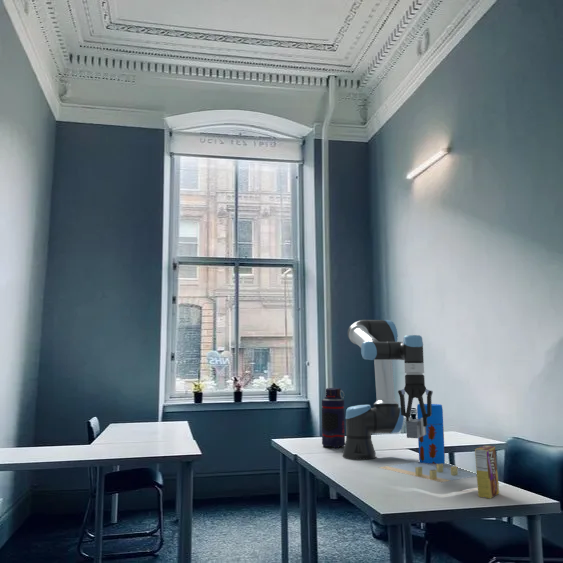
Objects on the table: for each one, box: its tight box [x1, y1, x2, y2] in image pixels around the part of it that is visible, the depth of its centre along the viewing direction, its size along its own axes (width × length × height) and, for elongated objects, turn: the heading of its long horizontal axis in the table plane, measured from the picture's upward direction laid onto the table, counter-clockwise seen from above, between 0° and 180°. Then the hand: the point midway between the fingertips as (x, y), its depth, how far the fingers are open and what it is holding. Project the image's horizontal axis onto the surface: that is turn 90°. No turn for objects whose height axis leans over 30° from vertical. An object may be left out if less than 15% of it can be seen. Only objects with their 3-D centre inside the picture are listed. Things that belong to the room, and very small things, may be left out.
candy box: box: [474, 445, 500, 499], centre depth 173 cm, size 9×4×15 cm, turn 140°
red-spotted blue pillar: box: [416, 403, 446, 465], centre depth 228 cm, size 11×11×25 cm
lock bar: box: [405, 418, 426, 439], centre depth 204 cm, size 16×4×6 cm, turn 153°
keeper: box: [415, 463, 459, 480], centre depth 198 cm, size 8×14×3 cm, turn 124°
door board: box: [378, 461, 477, 483], centre depth 205 cm, size 32×22×1 cm
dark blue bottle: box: [321, 387, 346, 449], centre depth 274 cm, size 14×12×30 cm
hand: (417, 434), depth 204 cm, fingers closed on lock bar, 4 cm apart
